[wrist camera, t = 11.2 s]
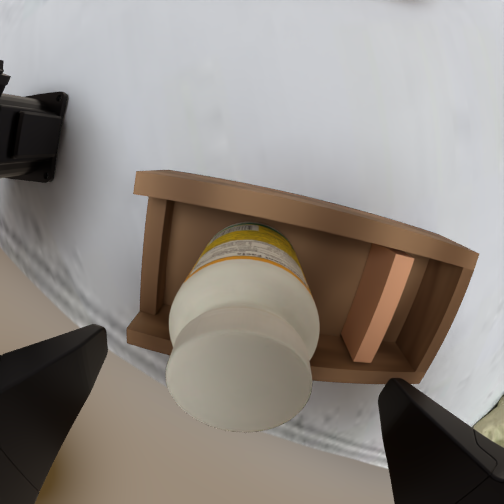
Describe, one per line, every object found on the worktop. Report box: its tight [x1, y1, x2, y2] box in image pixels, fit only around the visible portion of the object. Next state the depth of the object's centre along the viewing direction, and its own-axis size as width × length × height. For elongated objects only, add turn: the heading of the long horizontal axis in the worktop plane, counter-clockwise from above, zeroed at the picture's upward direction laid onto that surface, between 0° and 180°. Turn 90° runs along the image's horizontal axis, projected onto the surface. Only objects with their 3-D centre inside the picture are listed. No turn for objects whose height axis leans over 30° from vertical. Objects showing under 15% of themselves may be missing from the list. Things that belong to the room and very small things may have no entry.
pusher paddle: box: [341, 243, 414, 363], centre depth 15 cm, size 1×6×3 cm, turn 168°
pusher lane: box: [127, 170, 479, 384], centre depth 15 cm, size 18×9×4 cm, turn 78°
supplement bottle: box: [165, 222, 320, 432], centre depth 11 cm, size 5×5×10 cm
